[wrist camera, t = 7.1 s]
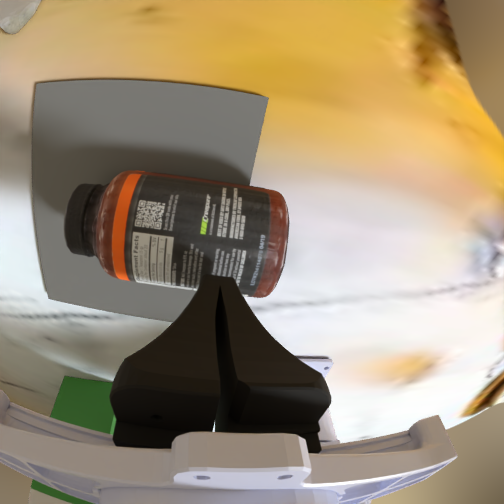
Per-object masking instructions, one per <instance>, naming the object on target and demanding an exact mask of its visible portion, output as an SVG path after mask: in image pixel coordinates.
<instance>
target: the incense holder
mask: <svg viewBox="0 0 504 504" xmlns="http://www.w3.org/2000/svg"><path fill="white" fill-rule="evenodd" d="M40 2H41V0H0V27H1V28H2V29H3V30H4V31H5V32H7V33H9V34H16V33H18V32H19V30H20V29H21V28H22V27H23V26H24V25H25V24H26V23H27V22H28V21H29V20H30V19H31V17H32V16H33V15H34V14H35V12H36V10H37V7H38V5H39V4H40Z"/></svg>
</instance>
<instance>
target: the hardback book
mask: <svg viewBox="0 0 504 504" xmlns="http://www.w3.org/2000/svg"><path fill="white" fill-rule="evenodd" d="M112 384H113V383H111V382H103V381H95V380H88V379H81V378H75V377H69V376H65V377H64V379H63V382H62V385H61V387H60V390H59V393H58V395H57V398H56V401H55V404H54V407H53V410H52V413H51V416H50V417H51V418H54V419H57V420H60V421H63V422H66V423H70V424H73V425H76V426H80V427H83V428H87V429H91V430H95V431H99V432H103V433H107V434H111V435H113V433H114V428H115V423H116V418H115V415H114V412H113V410H112V407H111V404H110V398H109V395H110V391H111V388H112ZM28 504H94V503H91V502H88V501H85V500H82V499H79V498H77V497H74V496H71V495H69V494H66V493H64V492H61V491H59V490H56V489H54V488H51V487H49V486H47V485H45V484H42V483H40V482H38V481H36V480H34V479H33V481H32V485H31V490H30V495H29V500H28Z"/></svg>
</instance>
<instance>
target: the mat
mask: <svg viewBox="0 0 504 504" xmlns="http://www.w3.org/2000/svg"><path fill="white" fill-rule="evenodd" d="M267 103H268V97H263V96H259V95H254V94H248V93H243V92H238V91H232V90H226V89H219V88H213V87H205V86H198V85H189V84H180V83H169V82H156V81H139V80H77V81H60V82H48V83H38V84H37V85H36V93H35V102H34V113H33V128H32V187H33V203H34V214H35V224H36V232H37V240H38V247H39V253H40V259H41V265H42V270H43V275H44V280H45V285H46V289H47V294H48V298H49V299H52V300H56V301H60V302H65V303H69V304H74V305H79V306H83V307H88V308H93V309H98V310H103V311H109V312H114V313H119V314H125V315H131V316H137V317H143V318H149V319H155V320H162V321H169V322H174V321H175V320H176V319H177V318H178V317H179V315H180V314H181V313H182V312H183V310H184V309H185V308H186V306H187V305H188V304H189V302H190V301H191V299H192V298H193V296H194V294H195V293H196V291H195V290H187V289H180V288H172V287H165V286H159V285H152V284H145V283H138V282H134V281H127V280H121V279H117V278H114V277H112V276H110V275H108V274H107V273H106V272H105V271H104V269H103V268H102V266H101V265H100V262H99V259H98V258H97V257H96V256H93V257H87V256H83V255H77V254H73V253H71V252H70V250H69V249H68V247H67V246H66V242H65V237H64V216H65V211H66V207H67V203H68V200H69V197H70V195H71V193H72V192H73V191H74V189H75V188H76V187H77V186H78V185H80V184H84V183H86V184H101V185H102V186H104V185H106V184H108V183H110V182H111V181H112V180H113V178H114V177H116V176H117V175H118V174H120V173H122V172H124V171H145V172H157V173H166V174H172V175H180V176H188V177H196V178H203V179H209V180H217V181H223V182H229V183H235V184H242V185H248V186H249V184H250V180H251V175H252V170H253V166H254V161H255V157H256V152H257V148H258V143H259V138H260V134H261V129H262V125H263V121H264V116H265V112H266V107H267Z"/></svg>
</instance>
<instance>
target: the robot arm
mask: <svg viewBox="0 0 504 504" xmlns="http://www.w3.org/2000/svg"><path fill="white" fill-rule="evenodd" d="M332 365H333V361H332V360H331V359H298V358H297V357H295V356H294V355H292V354H291V353H290V352H289V351H288V350H286V349H285V348H284V347H283V346H282V345H281V344H280V343H278V342H277V341H276V340H275V339H274V338H273V337H272V336H271V335H270V334H269V332H268V331H267V330H266V329H265V328H264V327H263V325H262V324H261V323H260V322H259V320H258V319H257V317H256V316H255V315H254V313H253V312H252V310H251V309H250V307H249V305H248V304H247V302H246V300H245V299H244V297H243V295H242V293H241V291H240V289H239V287H238V285H237V283H236V280H235V279H234V278H233V277H225V276H217V275H209V274H205V275H203V276H202V280H201V283H200V285H199V287H198V289H197V291H196V293H195V294H194V296H193V298H192V299H191V301H190V302H189V304H188V305H187V306H186V308H185V309H184V310H183V312H182V313H181V314H180V315H179V317H178V318H177V319H176V320H175V321H174V322H173V323H172V324H171V325H170V326H169V327H168V328H167V329H166V330H165V331H164V332H163V333H162V334H161V335H160V336H158V337H157V338H156V339H154V340H153V341H152V342H150V343H149V344H148V345H147V346H145V347H144V348H142V349H141V350H139V351H137V352H136V353H134V354H132V355H131V356H129V357H127V358H125V359H124V361H123V363H122V364H121V366H120V368H119V370H118V372H117V374H116V376H115V378H114V381H113V384H112V388H111V391H110V395H109V398H110V404H111V407H112V410H113V412H114V415H115V418H116V423H115V428H114V433H113V435H111V434H107V433H103V432H99V431H95V430H91V429H87V428H83V427H80V426H76V425H73V424H70V423H66V422H63V421H60V420H57V419H54V418H51V417H48V416H45V415H43V414H40V413H37V412H34V411H32V410H29V409H27V408H24V407H22V406H19V405H17V404H15V403H12V402H10V400H9V398H8V396H7V395H6V394H5V392H4V391H2V390H1V389H0V462H1V463H3V464H4V465H6V466H8V467H10V468H12V469H14V470H16V471H18V472H20V473H22V474H24V475H26V476H28V477H30V478H32V479H34V480H36V481H38V482H40V483H42V484H45V485H47V486H49V487H51V488H54V489H56V490H59V491H61V492H64V493H66V494H69V495H71V496H74V497H77V498H79V499H82V500H85V501H88V502H91V503H94V504H371V500H372V499H375V498H378V497H381V496H384V495H387V494H390V493H392V492H395V491H397V490H400V489H403V488H405V487H408V486H411V485H413V484H415V483H418V482H421V481H423V480H425V479H426V478H428V477H430V476H431V475H433V474H434V473H436V472H437V471H439V470H440V469H442V468H443V467H444V466H446V465H447V464H449V463H450V462H451V461H453V460H454V459H455V458H457V453H456V451H455V449H454V447H453V445H452V442H451V440H450V438H449V436H448V434H447V432H446V430H445V427H444V425H443V423H442V421H441V419H440V417H439V415H435V416H432V417H428V418H425V419H421V420H419V421H417V422H416V423H415V424H413V425H412V426H411V427H410V428H409V430H407V431H403V432H399V433H395V434H390V435H386V436H381V437H376V438H371V439H366V440H360V441H354V442H348V443H341V444H340V441H339V440H337V436H336V433H335V429H334V426H333V422H332V419H331V415H330V412H329V406H330V404H331V395H330V392H329V389H328V386H327V384H326V381H325V377H326V375H327V374H328V372H329V370H330V369H331V367H332ZM214 422H215V432H212V431H213V426H214Z"/></svg>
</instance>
